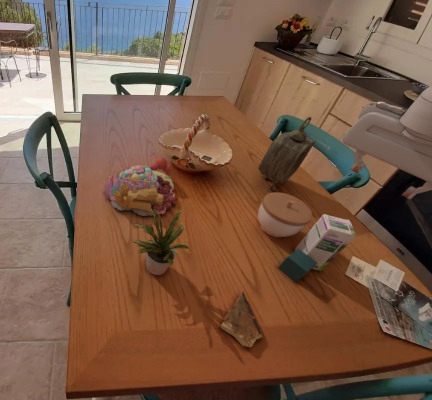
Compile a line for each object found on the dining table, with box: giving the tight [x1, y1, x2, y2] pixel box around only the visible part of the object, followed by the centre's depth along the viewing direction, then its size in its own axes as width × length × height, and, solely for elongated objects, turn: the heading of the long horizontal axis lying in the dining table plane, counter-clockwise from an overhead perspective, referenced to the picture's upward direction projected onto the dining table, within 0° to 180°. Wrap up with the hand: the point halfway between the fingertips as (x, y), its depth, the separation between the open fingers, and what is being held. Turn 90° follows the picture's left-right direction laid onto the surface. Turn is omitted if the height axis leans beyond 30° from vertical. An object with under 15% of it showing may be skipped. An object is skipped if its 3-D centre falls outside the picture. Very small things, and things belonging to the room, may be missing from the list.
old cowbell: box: [258, 116, 316, 192], centre depth 91 cm, size 14×9×25 cm, turn 131°
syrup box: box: [294, 213, 357, 272], centre depth 68 cm, size 6×6×14 cm
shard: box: [220, 291, 264, 348], centre depth 59 cm, size 11×8×2 cm
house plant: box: [131, 207, 191, 276], centre depth 64 cm, size 14×14×16 cm
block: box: [278, 249, 317, 283], centre depth 69 cm, size 5×5×5 cm
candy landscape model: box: [105, 157, 178, 217], centre depth 87 cm, size 25×24×9 cm
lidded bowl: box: [257, 191, 313, 238], centre depth 78 cm, size 13×13×11 cm
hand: (379, 183), depth 55 cm, fingers open, 8 cm apart
